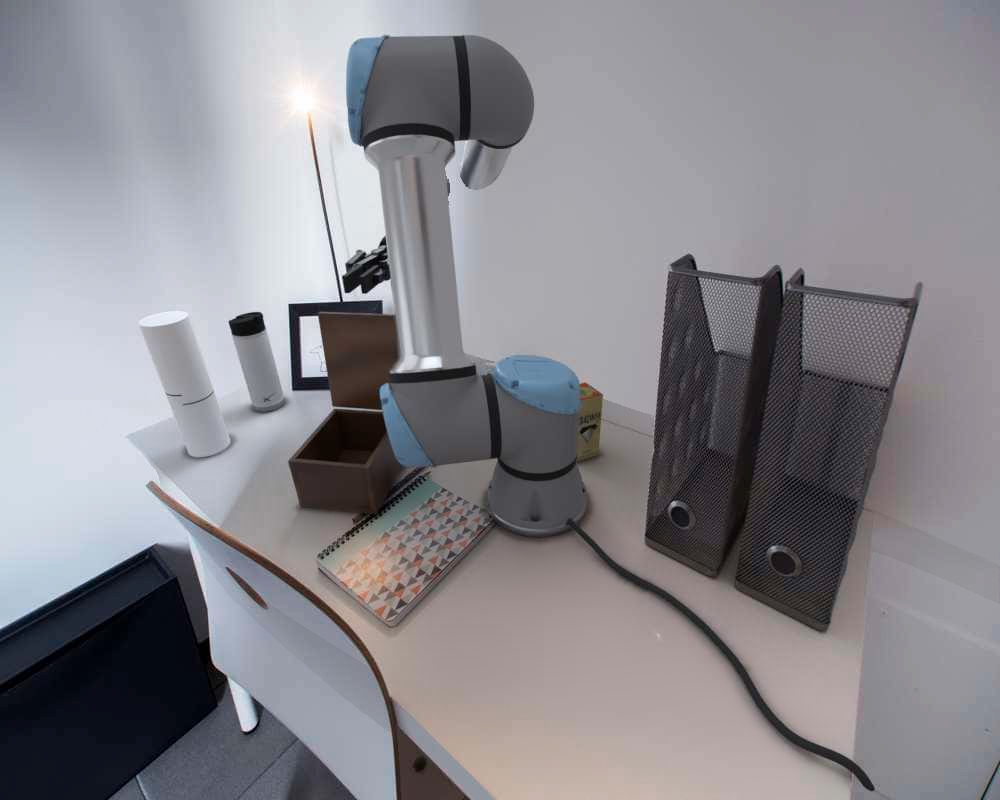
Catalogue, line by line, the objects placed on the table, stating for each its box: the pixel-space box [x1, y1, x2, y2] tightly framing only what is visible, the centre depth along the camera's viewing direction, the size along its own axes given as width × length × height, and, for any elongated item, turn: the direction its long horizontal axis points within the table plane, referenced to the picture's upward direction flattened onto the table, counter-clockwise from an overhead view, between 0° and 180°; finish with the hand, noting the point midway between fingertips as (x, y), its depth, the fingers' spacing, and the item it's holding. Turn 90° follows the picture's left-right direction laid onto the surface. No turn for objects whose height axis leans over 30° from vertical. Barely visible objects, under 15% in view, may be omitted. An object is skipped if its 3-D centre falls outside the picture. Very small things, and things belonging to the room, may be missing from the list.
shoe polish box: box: [577, 382, 604, 463], centre depth 90 cm, size 5×5×12 cm
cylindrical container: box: [138, 310, 231, 458], centre depth 92 cm, size 7×7×25 cm
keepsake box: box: [287, 408, 404, 516], centre depth 86 cm, size 16×13×9 cm
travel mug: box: [228, 311, 286, 413], centre depth 106 cm, size 6×7×20 cm
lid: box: [317, 311, 399, 411], centre depth 87 cm, size 16×13×1 cm
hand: (354, 284), depth 82 cm, fingers open, 2 cm apart
